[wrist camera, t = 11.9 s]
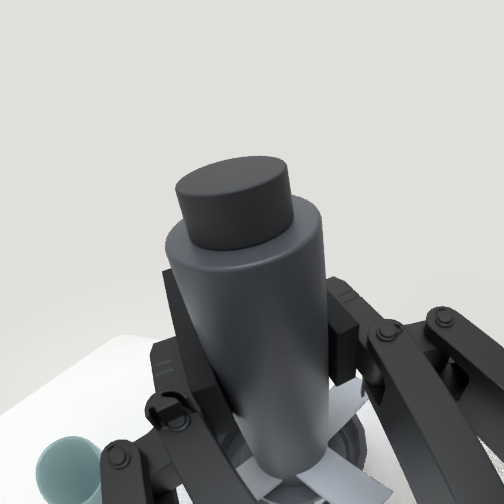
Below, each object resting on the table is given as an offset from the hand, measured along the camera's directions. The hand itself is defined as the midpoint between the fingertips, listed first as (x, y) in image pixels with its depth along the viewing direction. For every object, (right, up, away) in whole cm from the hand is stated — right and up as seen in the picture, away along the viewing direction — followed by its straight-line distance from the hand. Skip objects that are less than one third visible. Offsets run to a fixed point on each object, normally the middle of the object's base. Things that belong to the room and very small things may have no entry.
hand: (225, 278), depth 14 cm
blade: (+3, -10, 0) cm, 11 cm away
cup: (-13, -26, +9) cm, 30 cm away
